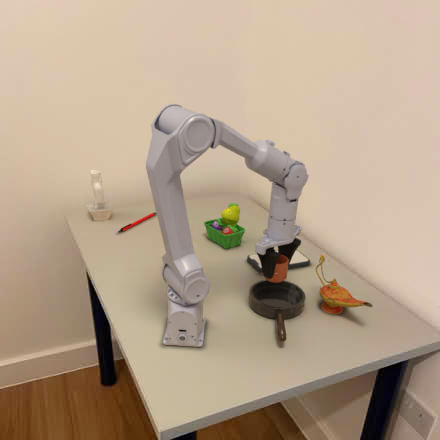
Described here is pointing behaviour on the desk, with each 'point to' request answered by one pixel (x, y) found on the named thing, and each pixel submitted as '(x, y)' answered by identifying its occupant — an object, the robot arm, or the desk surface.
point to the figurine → (98, 199)
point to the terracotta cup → (280, 270)
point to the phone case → (296, 261)
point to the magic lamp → (336, 295)
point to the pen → (136, 222)
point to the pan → (276, 298)
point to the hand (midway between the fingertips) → (275, 272)
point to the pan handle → (280, 326)
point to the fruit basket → (226, 228)
